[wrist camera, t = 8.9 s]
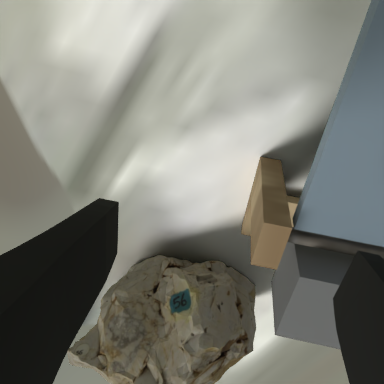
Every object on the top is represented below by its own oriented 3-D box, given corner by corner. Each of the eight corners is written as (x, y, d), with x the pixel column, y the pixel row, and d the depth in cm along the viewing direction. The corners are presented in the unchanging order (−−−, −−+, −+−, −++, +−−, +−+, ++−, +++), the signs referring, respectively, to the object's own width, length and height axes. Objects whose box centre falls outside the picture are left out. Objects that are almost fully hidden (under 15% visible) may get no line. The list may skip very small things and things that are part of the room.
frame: (490, 200, 19) (589, 288, 13) (442, 267, 22) (507, 363, 16) (260, 156, 20) (263, 222, 14) (241, 226, 22) (237, 305, 17)
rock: (258, 239, 21) (193, 406, 15) (273, 300, 25) (228, 455, 19) (113, 222, 27) (22, 335, 21) (143, 273, 31) (74, 383, 25)
